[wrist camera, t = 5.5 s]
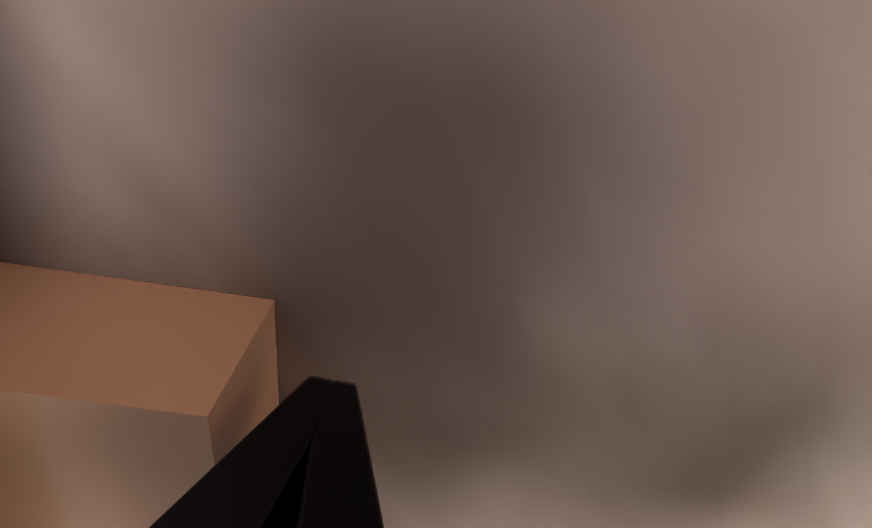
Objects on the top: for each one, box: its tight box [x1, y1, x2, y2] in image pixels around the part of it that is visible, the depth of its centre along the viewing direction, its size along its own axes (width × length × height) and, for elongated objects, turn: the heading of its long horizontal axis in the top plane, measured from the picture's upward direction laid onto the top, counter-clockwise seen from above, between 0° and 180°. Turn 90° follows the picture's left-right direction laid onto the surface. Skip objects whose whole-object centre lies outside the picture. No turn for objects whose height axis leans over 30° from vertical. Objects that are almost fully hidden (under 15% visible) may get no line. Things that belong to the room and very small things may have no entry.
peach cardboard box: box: [0, 262, 279, 528], centre depth 9 cm, size 8×5×3 cm, turn 82°
